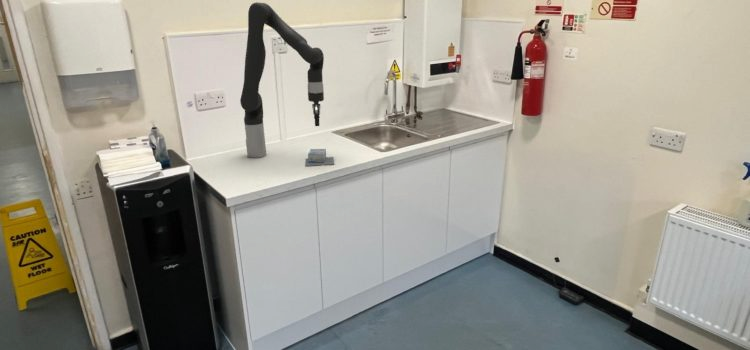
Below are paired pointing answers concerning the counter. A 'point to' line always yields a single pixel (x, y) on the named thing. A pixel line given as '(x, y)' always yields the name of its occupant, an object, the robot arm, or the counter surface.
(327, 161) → the mat
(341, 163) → the counter surface
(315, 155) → the medicine box
